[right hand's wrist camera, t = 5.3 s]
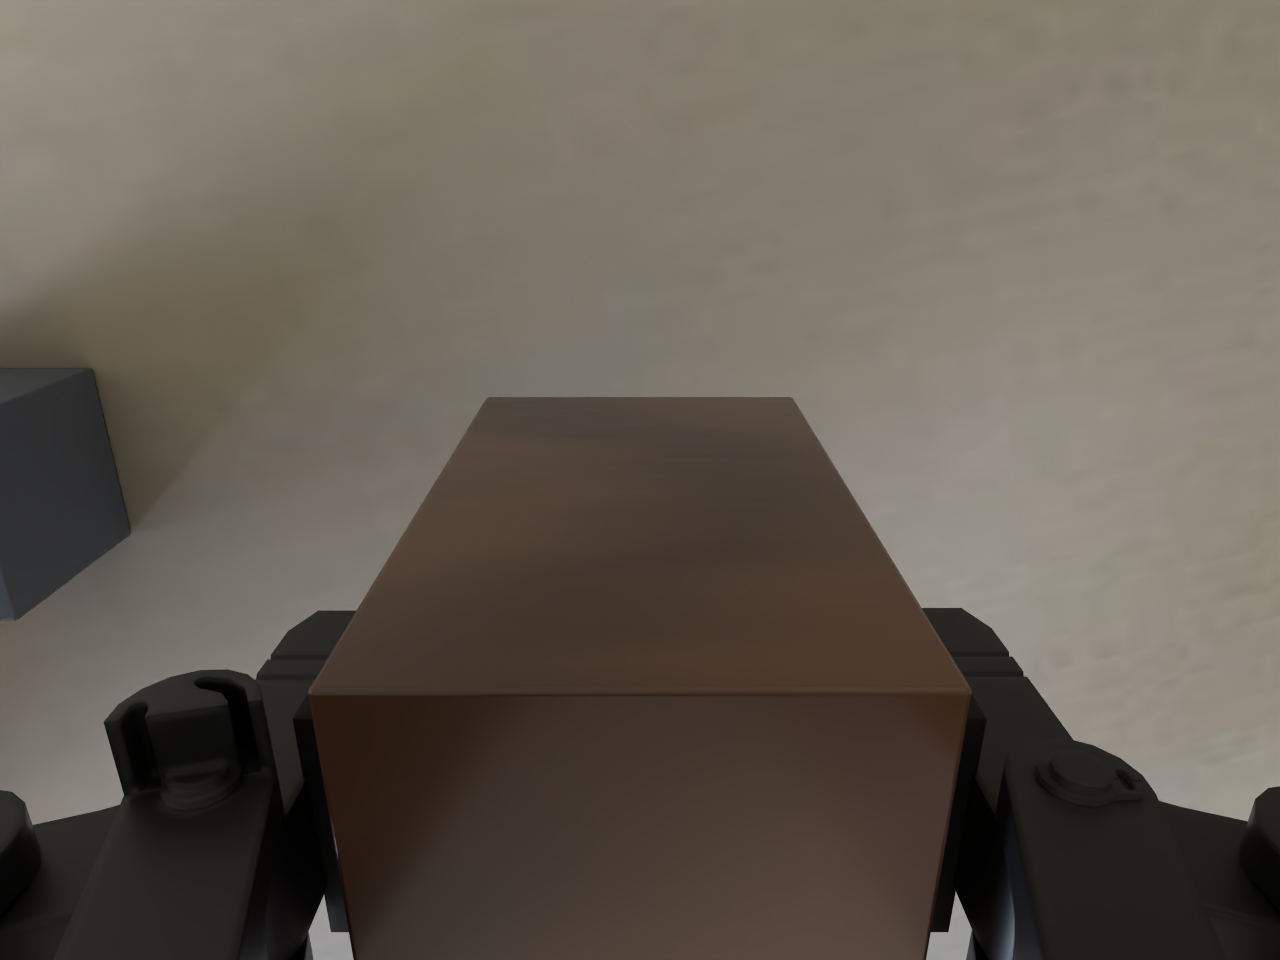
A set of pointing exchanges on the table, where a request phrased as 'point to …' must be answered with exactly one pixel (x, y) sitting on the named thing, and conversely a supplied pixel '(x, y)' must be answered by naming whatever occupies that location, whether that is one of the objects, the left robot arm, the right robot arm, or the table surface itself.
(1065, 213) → the table surface
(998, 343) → the table surface
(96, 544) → the slate grey block
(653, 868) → the brown rectangular block
